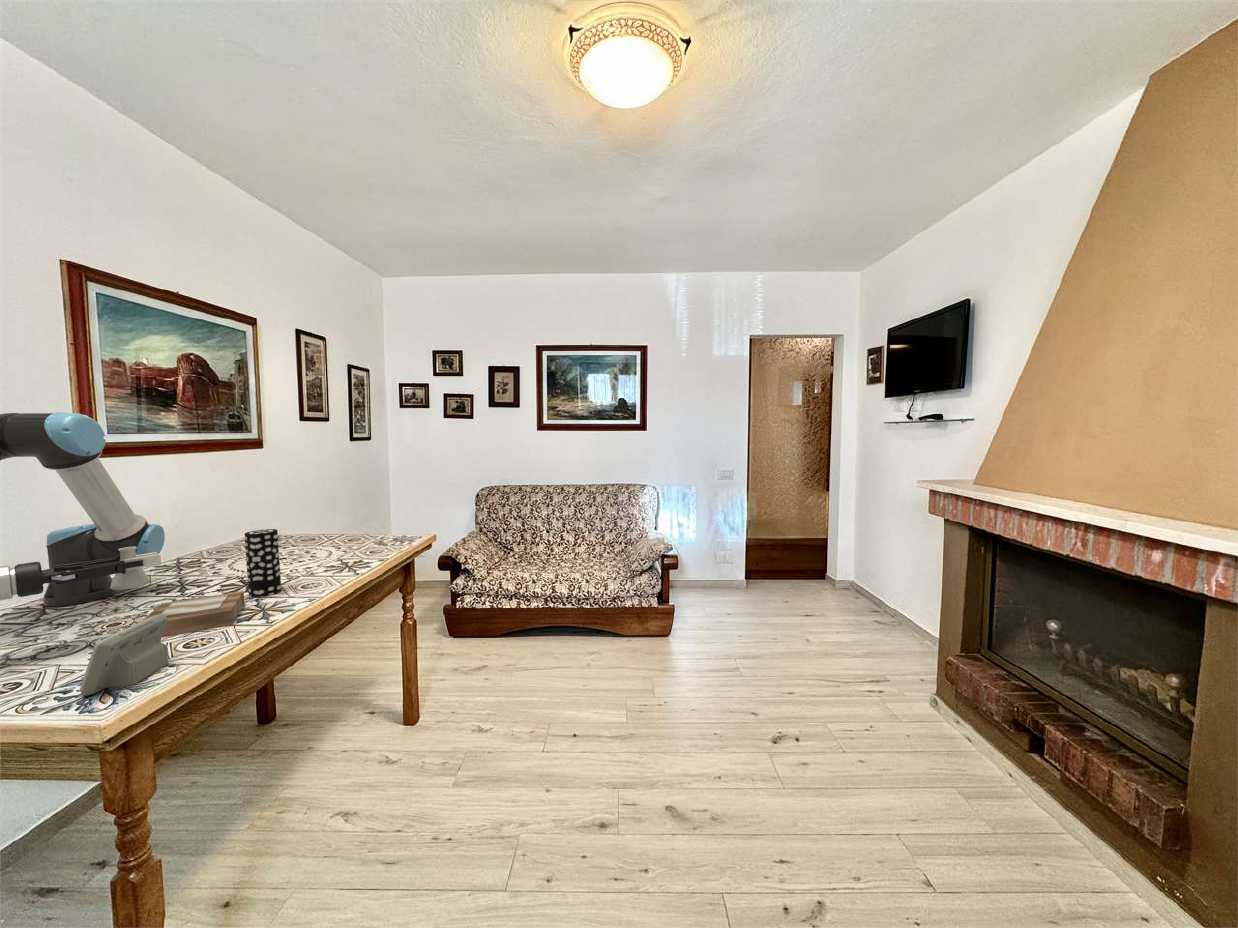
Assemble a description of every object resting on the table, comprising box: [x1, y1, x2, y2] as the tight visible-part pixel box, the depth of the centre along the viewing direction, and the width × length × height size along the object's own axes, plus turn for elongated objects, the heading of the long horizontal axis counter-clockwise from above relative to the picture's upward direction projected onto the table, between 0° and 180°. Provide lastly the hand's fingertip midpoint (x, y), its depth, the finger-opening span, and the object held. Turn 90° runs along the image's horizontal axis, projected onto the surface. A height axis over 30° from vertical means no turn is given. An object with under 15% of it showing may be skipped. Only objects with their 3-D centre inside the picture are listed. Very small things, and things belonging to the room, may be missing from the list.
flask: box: [110, 547, 152, 590], centre depth 118 cm, size 7×7×10 cm
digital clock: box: [79, 614, 169, 696], centre depth 96 cm, size 16×9×11 cm, turn 179°
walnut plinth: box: [140, 590, 245, 638], centre depth 126 cm, size 18×18×4 cm
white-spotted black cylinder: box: [244, 528, 282, 598], centre depth 147 cm, size 8×8×20 cm
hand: (158, 558), depth 123 cm, fingers closed on flask, 3 cm apart
